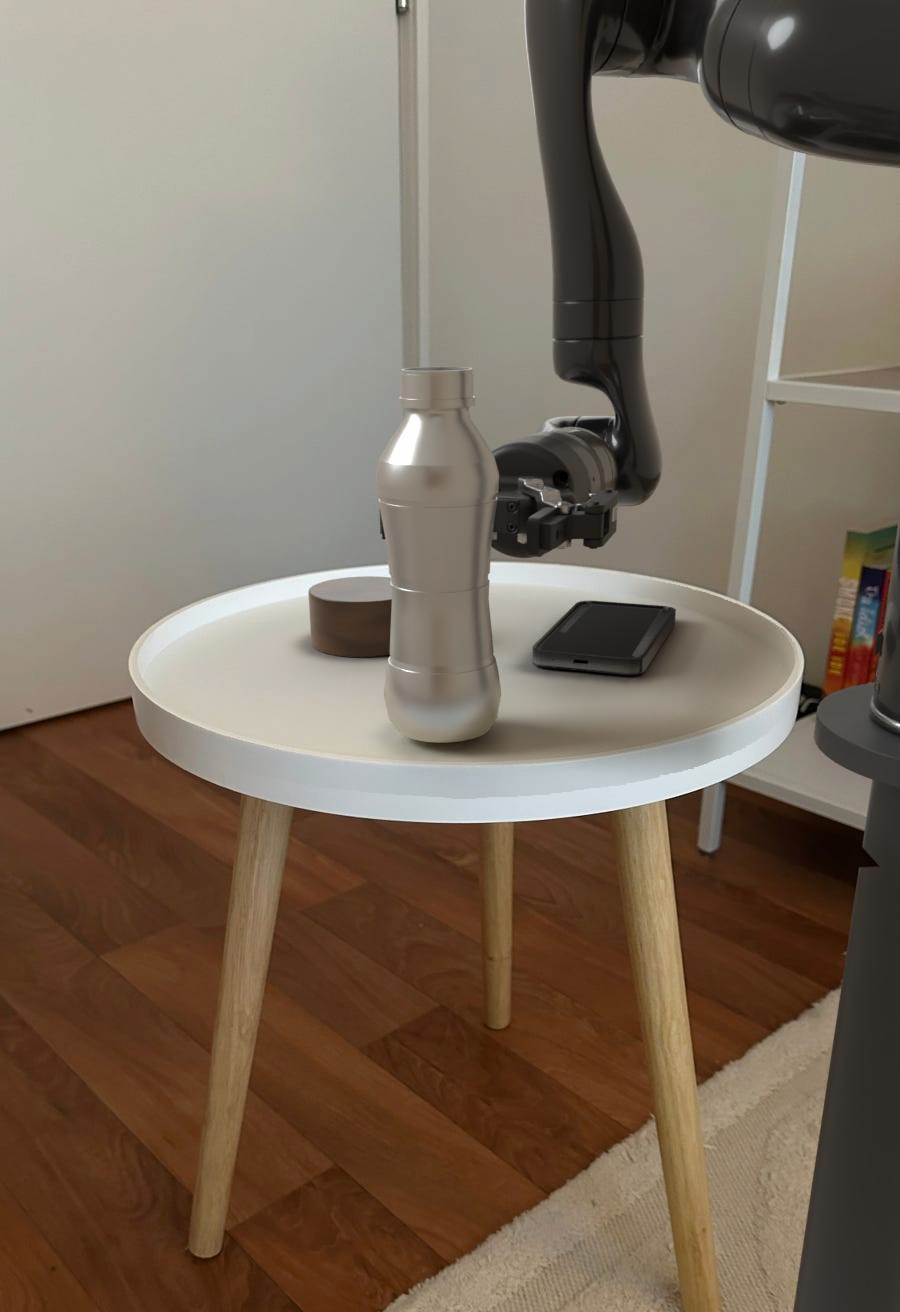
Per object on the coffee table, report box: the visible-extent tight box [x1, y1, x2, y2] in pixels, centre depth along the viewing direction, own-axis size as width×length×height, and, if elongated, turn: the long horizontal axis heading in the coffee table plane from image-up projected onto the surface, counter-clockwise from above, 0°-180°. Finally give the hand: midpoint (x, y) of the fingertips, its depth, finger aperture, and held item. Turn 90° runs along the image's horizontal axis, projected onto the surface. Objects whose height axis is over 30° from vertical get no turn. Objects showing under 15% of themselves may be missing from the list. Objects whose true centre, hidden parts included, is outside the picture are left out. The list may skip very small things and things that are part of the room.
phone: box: [531, 600, 677, 676], centre depth 84 cm, size 8×1×15 cm
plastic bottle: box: [374, 366, 502, 743], centre depth 63 cm, size 6×7×20 cm
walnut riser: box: [308, 575, 392, 658], centre depth 85 cm, size 8×8×4 cm
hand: (460, 534), depth 66 cm, fingers open, 8 cm apart
